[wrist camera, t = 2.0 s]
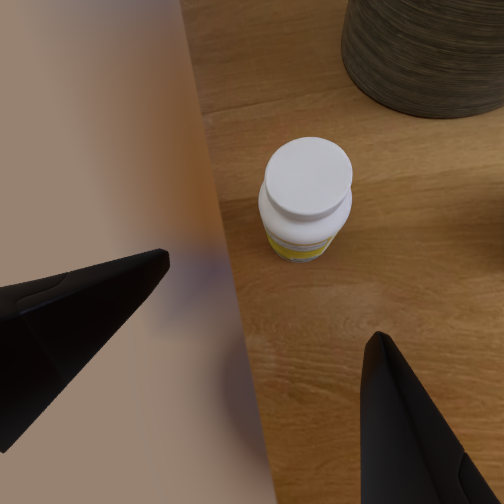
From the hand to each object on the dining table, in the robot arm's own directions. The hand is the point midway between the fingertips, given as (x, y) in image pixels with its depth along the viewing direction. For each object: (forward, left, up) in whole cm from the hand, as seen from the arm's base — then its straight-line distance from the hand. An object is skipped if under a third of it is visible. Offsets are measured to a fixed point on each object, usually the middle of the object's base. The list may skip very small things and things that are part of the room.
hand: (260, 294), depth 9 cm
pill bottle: (+4, +5, -13) cm, 15 cm away
